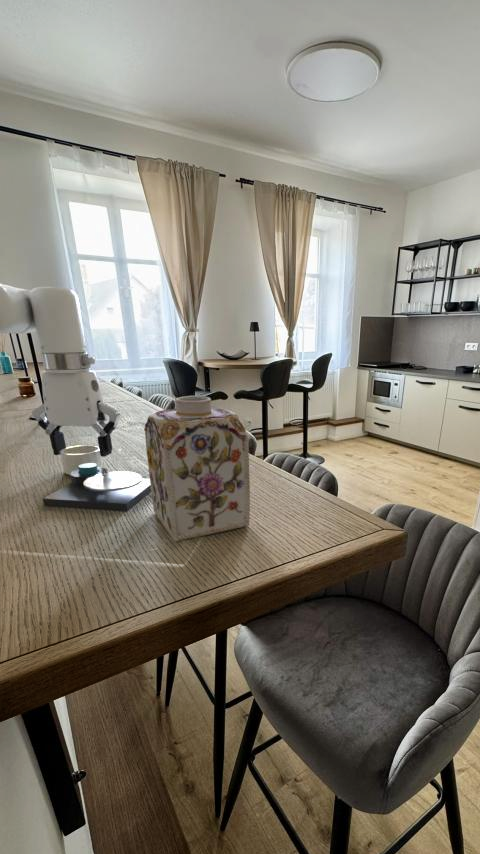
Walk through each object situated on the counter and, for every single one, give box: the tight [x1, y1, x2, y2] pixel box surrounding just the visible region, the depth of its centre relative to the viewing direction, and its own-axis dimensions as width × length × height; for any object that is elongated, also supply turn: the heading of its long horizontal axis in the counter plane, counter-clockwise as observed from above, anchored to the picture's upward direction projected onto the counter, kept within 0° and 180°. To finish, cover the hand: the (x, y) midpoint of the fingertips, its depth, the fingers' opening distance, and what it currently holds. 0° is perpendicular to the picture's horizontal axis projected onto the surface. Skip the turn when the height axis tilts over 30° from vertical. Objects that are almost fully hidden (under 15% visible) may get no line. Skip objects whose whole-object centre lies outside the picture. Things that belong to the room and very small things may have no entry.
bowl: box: [59, 444, 104, 476], centre depth 82 cm, size 7×7×4 cm
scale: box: [42, 467, 151, 513], centre depth 70 cm, size 14×12×3 cm
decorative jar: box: [143, 395, 251, 543], centre depth 59 cm, size 12×12×18 cm
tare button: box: [78, 463, 98, 475], centre depth 73 cm, size 3×3×2 cm
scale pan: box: [83, 471, 143, 491], centre depth 68 cm, size 9×9×1 cm
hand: (83, 454), depth 81 cm, fingers open, 9 cm apart
